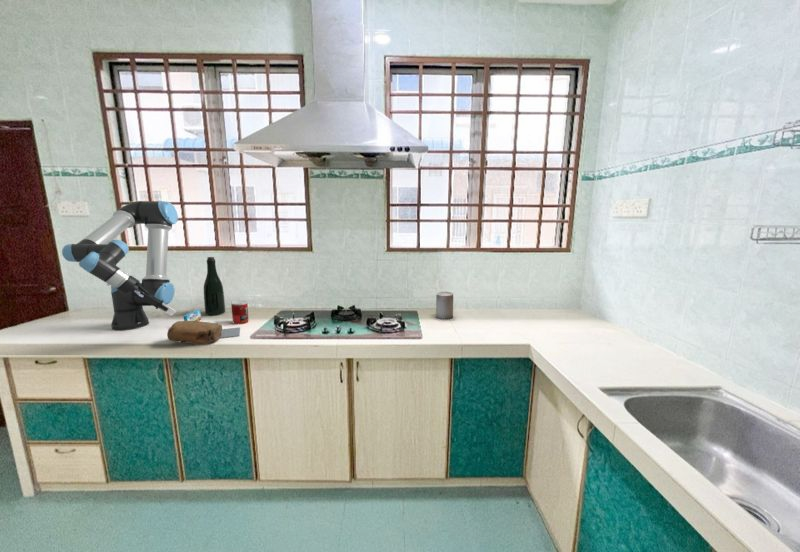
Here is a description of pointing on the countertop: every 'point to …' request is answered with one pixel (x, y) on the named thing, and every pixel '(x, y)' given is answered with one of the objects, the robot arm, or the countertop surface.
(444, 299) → the pillar candle
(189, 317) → the blue snack box
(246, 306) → the canned food
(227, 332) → the mat
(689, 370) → the countertop surface
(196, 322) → the brown lumpy oval piece
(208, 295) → the beer bottle
